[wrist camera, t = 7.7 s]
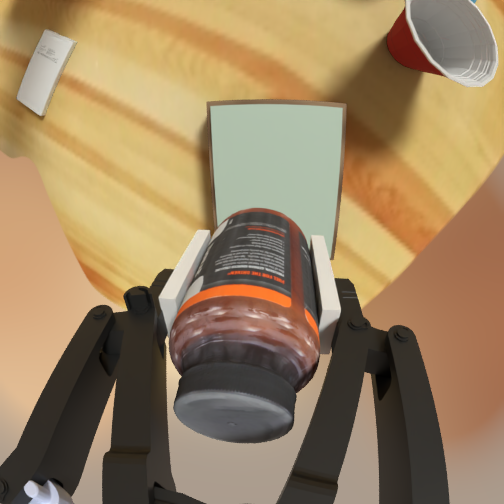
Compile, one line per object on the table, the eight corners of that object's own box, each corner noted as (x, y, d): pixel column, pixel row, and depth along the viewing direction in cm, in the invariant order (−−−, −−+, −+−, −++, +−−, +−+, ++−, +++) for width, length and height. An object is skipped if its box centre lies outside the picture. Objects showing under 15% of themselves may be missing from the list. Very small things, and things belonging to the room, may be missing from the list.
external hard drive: (21, 97, 30) (50, 29, 24) (47, 114, 31) (79, 42, 26) (15, 98, 28) (43, 28, 23) (40, 116, 30) (72, 41, 24)
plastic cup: (457, 56, 22) (515, 51, 12) (414, 103, 27) (469, 111, 16) (398, -6, 19) (440, -38, 9) (349, 40, 24) (381, 13, 14)
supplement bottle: (195, 224, 17) (106, 377, 8) (287, 188, 16) (290, 351, 6) (237, 298, 20) (202, 454, 10) (320, 273, 18) (340, 443, 8)
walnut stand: (216, 101, 30) (205, 101, 25) (338, 103, 28) (347, 103, 24) (223, 239, 39) (216, 258, 34) (328, 242, 37) (334, 262, 33)
